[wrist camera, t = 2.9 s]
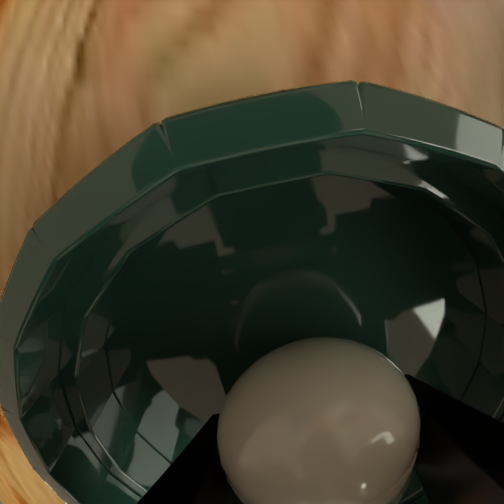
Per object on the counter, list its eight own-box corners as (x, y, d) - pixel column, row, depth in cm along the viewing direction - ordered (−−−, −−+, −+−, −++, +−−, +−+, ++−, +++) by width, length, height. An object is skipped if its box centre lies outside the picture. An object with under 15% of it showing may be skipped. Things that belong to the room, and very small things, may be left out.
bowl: (467, 445, 10) (503, 507, 6) (174, 504, 11) (159, 575, 7) (491, 107, 6) (599, 97, 2) (24, 206, 7) (-85, 241, 3)
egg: (382, 434, 8) (421, 537, 4) (254, 460, 9) (252, 572, 5) (381, 284, 7) (479, 396, 3) (205, 321, 7) (162, 465, 3)
